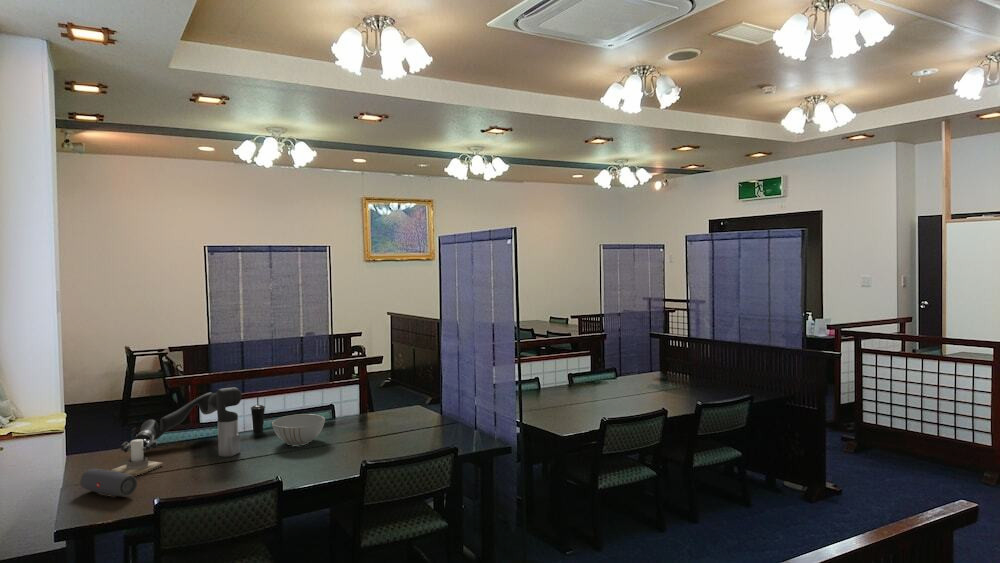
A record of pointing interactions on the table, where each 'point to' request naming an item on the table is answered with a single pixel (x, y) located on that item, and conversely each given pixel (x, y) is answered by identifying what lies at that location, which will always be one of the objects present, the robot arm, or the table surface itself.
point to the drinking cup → (258, 417)
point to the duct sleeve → (137, 450)
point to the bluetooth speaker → (108, 482)
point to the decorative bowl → (298, 428)
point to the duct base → (139, 471)
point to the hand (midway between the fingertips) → (136, 449)
